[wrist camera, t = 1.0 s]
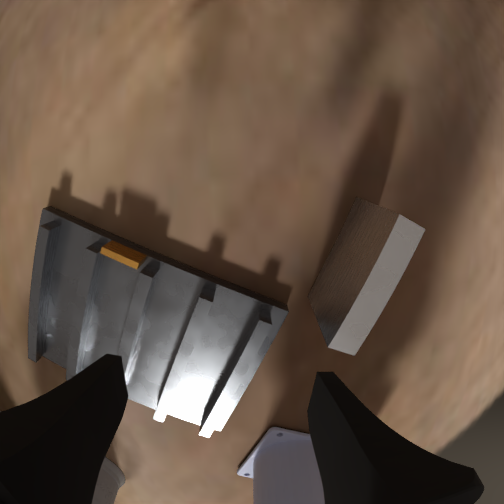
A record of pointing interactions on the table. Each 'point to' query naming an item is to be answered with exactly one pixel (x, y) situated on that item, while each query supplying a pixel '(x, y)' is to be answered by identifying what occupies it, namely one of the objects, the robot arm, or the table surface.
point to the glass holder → (108, 483)
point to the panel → (362, 273)
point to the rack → (146, 321)
